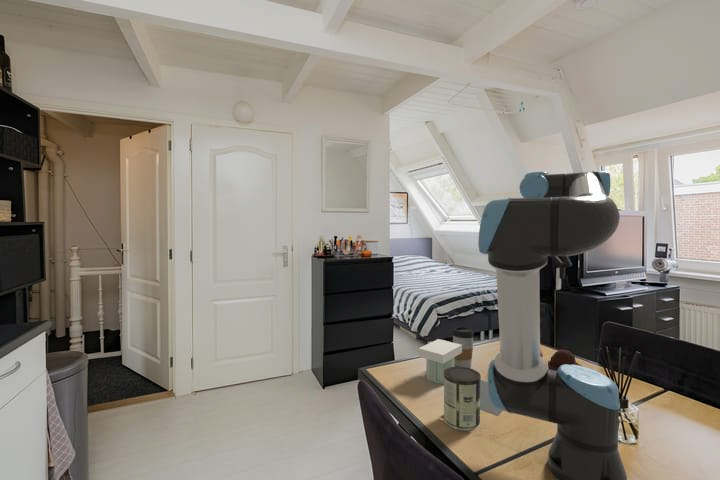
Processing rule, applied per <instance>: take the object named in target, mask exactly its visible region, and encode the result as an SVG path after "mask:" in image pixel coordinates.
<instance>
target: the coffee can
mask: <svg viewBox="0 0 720 480" xmlns="http://www.w3.org/2000/svg"><path fill="white" fill-rule="evenodd" d="M480 380H482V376H481V374H480V372H479V371H477V370H475V369H473V368H471V367H469V368H466V367H457V366H454V367H450V368H447V369H445V370H444V384H443V420H444V423H445V424H446V425H447V426H448V427H450V428H452V429H454V430H458V431H461V432H471V431H473V430H476V429H477V428H479V427H480V425H481V410H480Z"/></svg>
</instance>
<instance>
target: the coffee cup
mask: <svg viewBox="0 0 720 480" xmlns="http://www.w3.org/2000/svg"><path fill="white" fill-rule="evenodd" d="M474 337H475V335H474V331H473V328H471V327H467V326H466V327H465V326H457V327H454V328H453V330H452V342H453V343H457V344H461V345H462V353H461V354H459V355H457V356H455V363H454V366H455V367H466V368H471V367H472V361H473V349H474V345H473V344H474Z"/></svg>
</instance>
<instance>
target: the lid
mask: <svg viewBox="0 0 720 480" xmlns="http://www.w3.org/2000/svg"><path fill="white" fill-rule="evenodd" d="M461 353H462V345H461V344H457V343H453V341H452V342H451V341H448V340H444V339H439V338H437V339H435V340H434V341H431V342H429V343H427V344H424V345H422V346H420V347H418V357H420V358H423V359H426V360H427V359H429V360H433V361H436V362H439V363H445V362H447V361H449V360H450V359H452V358H454V357H455V356H457V355H459V354H461Z"/></svg>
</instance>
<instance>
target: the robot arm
mask: <svg viewBox="0 0 720 480" xmlns="http://www.w3.org/2000/svg"><path fill="white" fill-rule="evenodd" d="M519 193H520V195H521V197H520V198H519V197H518V198H514V197H513V198H511V197H508V198H504V199H503V198H502V199H493V200H490V201H489V202H488V203H486V205H485V206H484V209H483V212H482V216H481V220H480V224H479V229H478V230H479V232H478V242H477V243H478V251H479V253H481V254H483V255H487V261H488V264H489V266H491V267H492V268H494V269H495V273H496V276H495V278H496V294H497V295H496V296H497V309H498V310H497V312H498V329H499V331H498V332H499V333H498V334H499V350H500V352H498V354H497V355H496V356H495V358H494V359H492V360H491V361H490V363H489V365H488V369H487V380H488V381H487V382H488V390H489V396H490V399H491V402H492V403H493V405H494V406H495V407H496V408H498V409H501V410H503V411H504V412H507V413H509V414H514V415H515V414H516V415H520V416H524V417H527V418H532V419H537V420H540V421H545V422H549V423H553V424H557V425H556V426H557V427H556V430H557V431H556V434H555V436H554V439H553V441H552V443H551V446H550V448H549V449H548V454H547V464H548V467H549V469H550V471H551V472H552V474H553V475H554V476H555V477H556V478H557V479H558V480H628V477H627V472H626V469H625V467H624V466H625V465H624V463H623V461H622V457H621V454H620V452H619V451H620V450H619V446H618V445H619V414H620V413H619V410H620V408H621V403H620V398H619V397H620V395H619V394H620V391H619V388H618V386H617V384H616V383H615V381H614V380H613V379H611V378H610V377H608V376H606V375H605V374H604V373H601V372H599V371H597V370H594V369H592V368H590V367H586V366H583V365H581V366H578V365H572V364H570V365H567V364H564V365H561V366H560V367H559V368H558V371H555V370H550V369H548V363H547V362H546V360H545V359H544V358H543V356H542V357H541V356H540V349H541V326H540V325H541V318H540V317H541V316H540V315H541V312H540V311H541V310H540V308H541V307H540V306H541V304H540V303H541V302H540V301H541V300H540V297H541V296H540V291H541V290H540V270H541V269H543V268H544V267H545V266H546V265H548V257H549V258H550V259H551V260H552V261H553V262H554V263H555V265H557V268H556V269H555V270H556V275H555V276H556V277H555V290H556V291H557V290H561V289H562V280H564V279H565V277H566V269H567V268H570V267H572V266H573V263H572V261H571V259H570V258H569V257H571V256H577V255H581V254H584V253H587V252H589V251H592V250H595V248H598V247H599V246H601V245H603V244H604V243H606V242H607V241H608V240H609V239H611V237H612V236H613V235H614V233H615V232H616V231H617V229H618V227H619V224H620V220H621V218H620V212H619V211H620V210H619V209H618V207H617V205H616V203H615V201H614V200H613V199H611V197H609V196H610V193H611V174H610V172H609V171H607V170H604V171H603V170H601V171H597V170H593V171H582V172H581V171H580V172H571V173H569V172H568V173H552V174H551V173H549V172H547V171H533V172H528V173H526V174H525V175H524V177H523V179H522V180H521V182H520V183H519ZM560 257H561V258H560Z"/></svg>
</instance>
